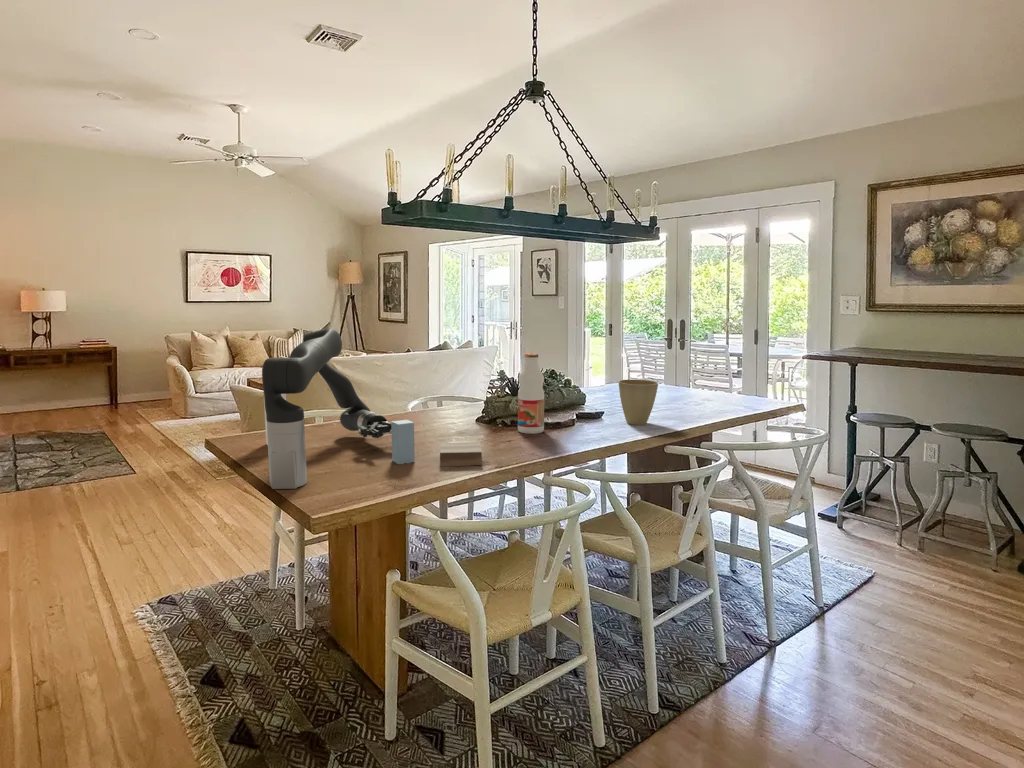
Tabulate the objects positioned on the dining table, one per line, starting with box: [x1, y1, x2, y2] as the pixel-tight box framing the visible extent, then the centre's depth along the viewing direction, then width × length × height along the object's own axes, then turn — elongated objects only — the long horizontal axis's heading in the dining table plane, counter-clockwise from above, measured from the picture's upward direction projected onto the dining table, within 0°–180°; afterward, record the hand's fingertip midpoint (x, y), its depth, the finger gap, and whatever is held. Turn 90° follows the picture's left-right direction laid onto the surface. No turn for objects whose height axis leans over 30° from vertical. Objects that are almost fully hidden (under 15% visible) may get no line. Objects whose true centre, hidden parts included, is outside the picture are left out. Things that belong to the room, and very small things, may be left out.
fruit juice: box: [517, 352, 545, 435], centre depth 236 cm, size 9×9×28 cm
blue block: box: [390, 419, 416, 465], centre depth 195 cm, size 5×5×12 cm
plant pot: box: [618, 379, 659, 426], centre depth 252 cm, size 15×15×16 cm
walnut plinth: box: [439, 442, 483, 467], centre depth 197 cm, size 12×12×4 cm
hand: (391, 433), depth 203 cm, fingers open, 8 cm apart
